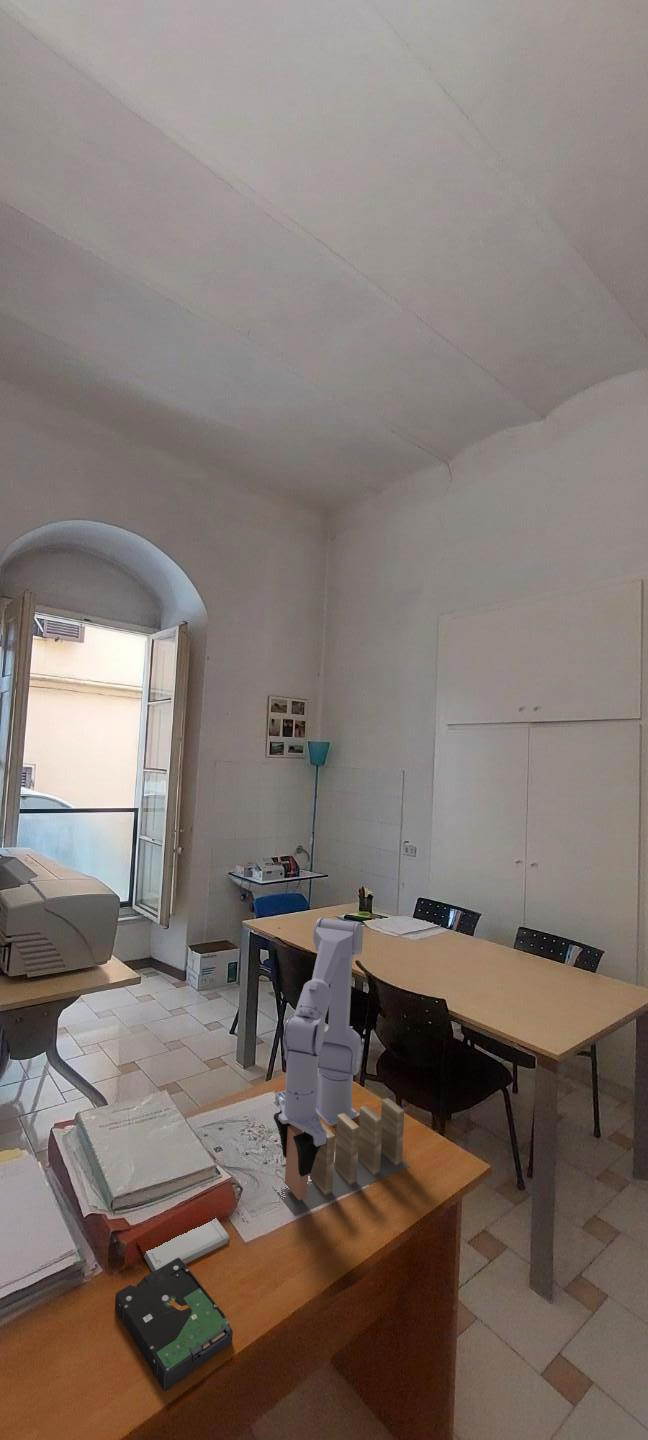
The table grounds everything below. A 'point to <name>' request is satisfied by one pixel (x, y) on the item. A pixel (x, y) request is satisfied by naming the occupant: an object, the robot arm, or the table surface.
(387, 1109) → the domino
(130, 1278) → the table surface
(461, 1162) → the table surface
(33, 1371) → the table surface
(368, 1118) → the domino
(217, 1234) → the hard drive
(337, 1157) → the domino
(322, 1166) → the domino
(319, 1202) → the grey flat rectangular board
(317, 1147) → the robot arm
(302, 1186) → the domino
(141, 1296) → the disk drive
